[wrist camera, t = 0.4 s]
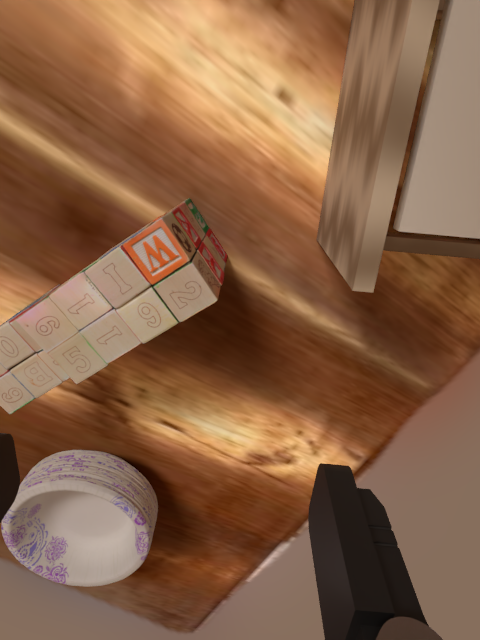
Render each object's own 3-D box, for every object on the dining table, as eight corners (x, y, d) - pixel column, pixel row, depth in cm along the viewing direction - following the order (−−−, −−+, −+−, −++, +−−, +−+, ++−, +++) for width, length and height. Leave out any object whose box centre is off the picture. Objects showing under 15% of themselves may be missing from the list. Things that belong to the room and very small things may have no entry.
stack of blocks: (57, 361, 42) (-15, 440, 31) (14, 314, 40) (-80, 379, 29) (229, 254, 37) (219, 302, 26) (190, 194, 35) (161, 217, 24)
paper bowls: (190, 493, 49) (179, 554, 41) (100, 543, 52) (75, 607, 45) (102, 407, 44) (72, 459, 37) (10, 469, 48) (-33, 527, 41)
